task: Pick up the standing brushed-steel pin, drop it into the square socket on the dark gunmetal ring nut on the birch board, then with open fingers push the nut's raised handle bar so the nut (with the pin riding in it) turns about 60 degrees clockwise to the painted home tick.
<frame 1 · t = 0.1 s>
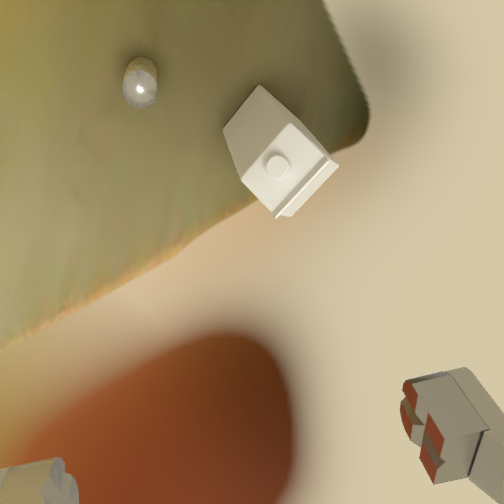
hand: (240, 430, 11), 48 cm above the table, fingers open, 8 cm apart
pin: (141, 73, 50), on the table
milk carton: (260, 124, 56), on the table
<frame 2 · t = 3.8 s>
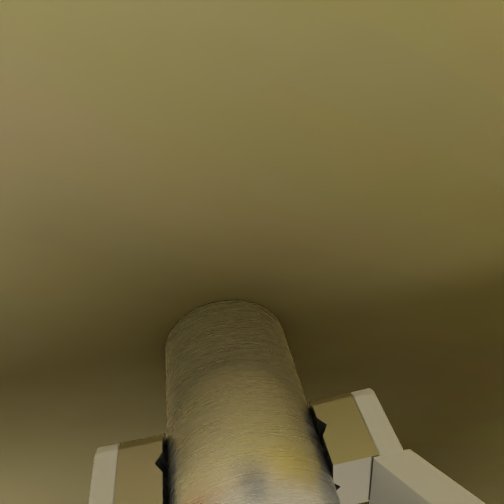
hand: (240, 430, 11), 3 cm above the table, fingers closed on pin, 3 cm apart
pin: (225, 346, 13), on the table, touching gripper
when the fingers open (9 cm above the table, at t = 8.9 s): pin drops 2 cm, resting on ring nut.
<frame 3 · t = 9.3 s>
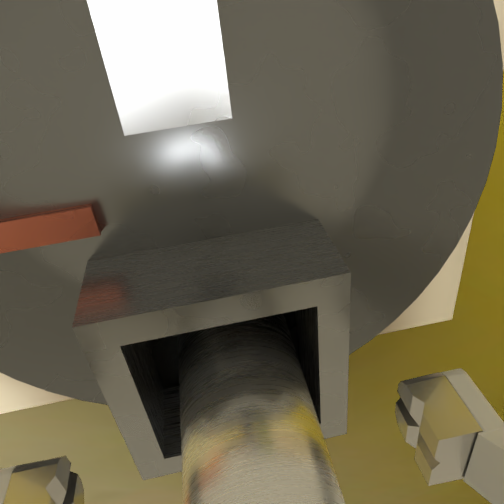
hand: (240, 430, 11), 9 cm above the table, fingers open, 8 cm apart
board: (185, 129, 16), on the table
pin: (232, 334, 14), point 6 cm above the table, touching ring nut
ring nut: (196, 195, 11), point 5 cm above the table, hinge at 0.0°, touching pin
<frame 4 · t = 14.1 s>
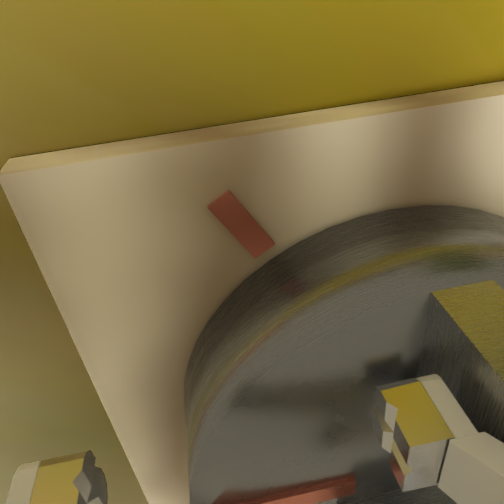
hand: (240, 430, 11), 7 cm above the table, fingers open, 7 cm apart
board: (363, 349, 20), on the table
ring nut: (419, 458, 16), point 5 cm above the table, hinge at 0.0°, touching gripper, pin
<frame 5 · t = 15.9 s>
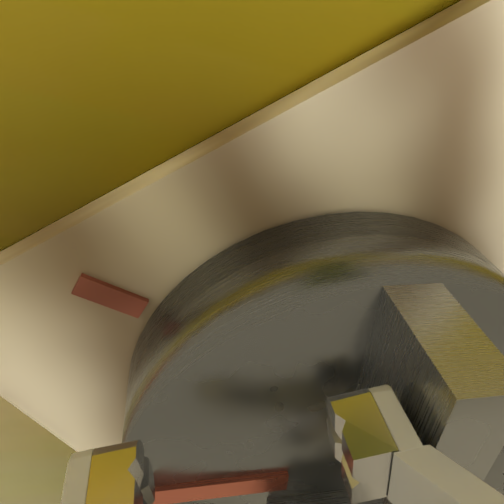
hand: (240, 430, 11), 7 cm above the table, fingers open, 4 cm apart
board: (314, 354, 20), on the table
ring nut: (353, 462, 16), point 5 cm above the table, hinge at -29.3°, touching gripper, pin
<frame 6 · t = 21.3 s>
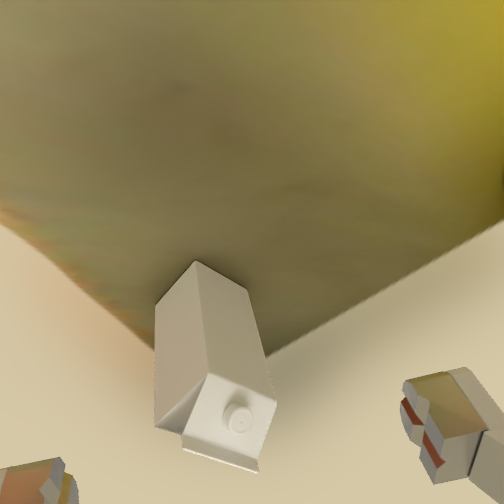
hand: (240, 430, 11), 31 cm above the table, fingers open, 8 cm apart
milk carton: (201, 295, 48), on the table
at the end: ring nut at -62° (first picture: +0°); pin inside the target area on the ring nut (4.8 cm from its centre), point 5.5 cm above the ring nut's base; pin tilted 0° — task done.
